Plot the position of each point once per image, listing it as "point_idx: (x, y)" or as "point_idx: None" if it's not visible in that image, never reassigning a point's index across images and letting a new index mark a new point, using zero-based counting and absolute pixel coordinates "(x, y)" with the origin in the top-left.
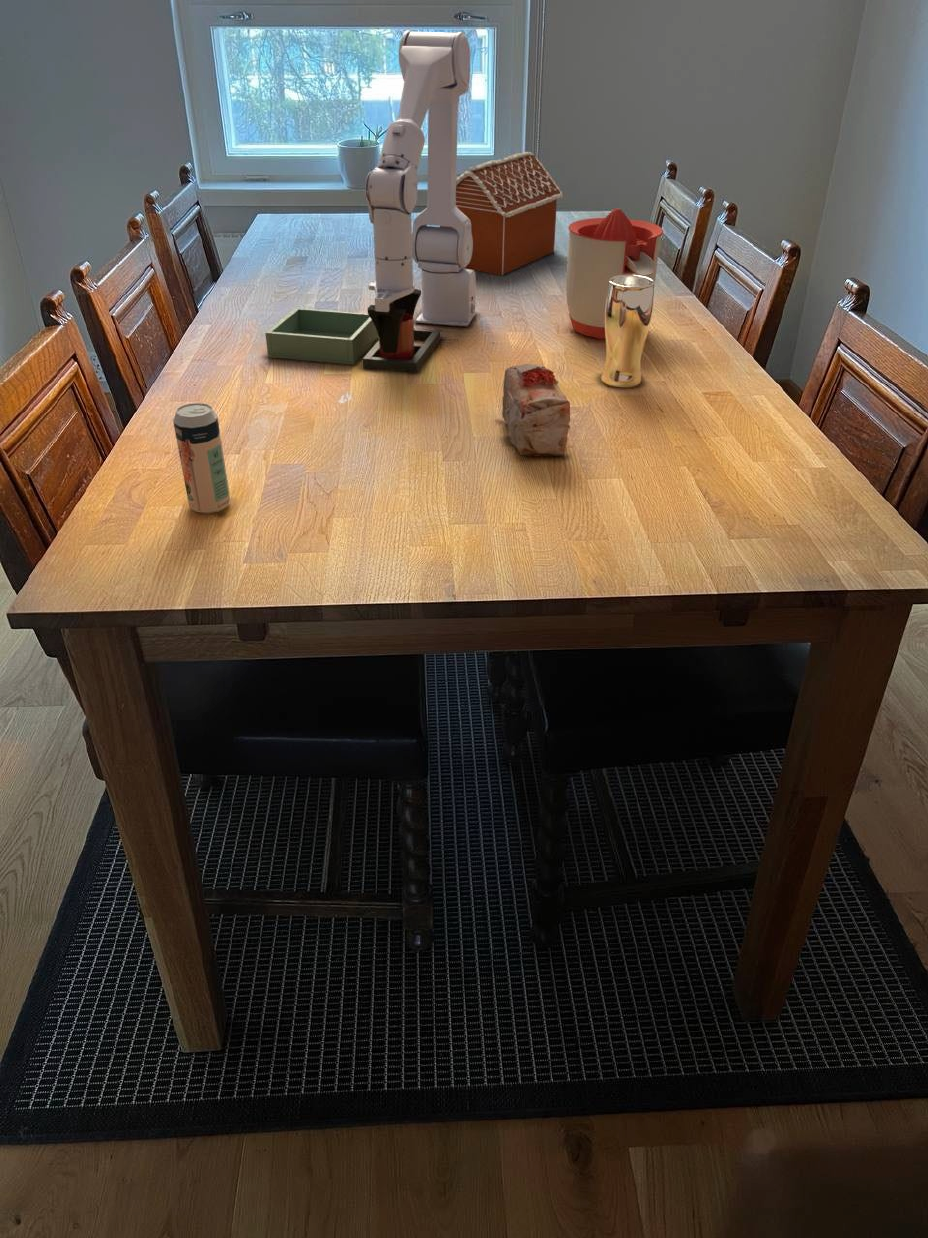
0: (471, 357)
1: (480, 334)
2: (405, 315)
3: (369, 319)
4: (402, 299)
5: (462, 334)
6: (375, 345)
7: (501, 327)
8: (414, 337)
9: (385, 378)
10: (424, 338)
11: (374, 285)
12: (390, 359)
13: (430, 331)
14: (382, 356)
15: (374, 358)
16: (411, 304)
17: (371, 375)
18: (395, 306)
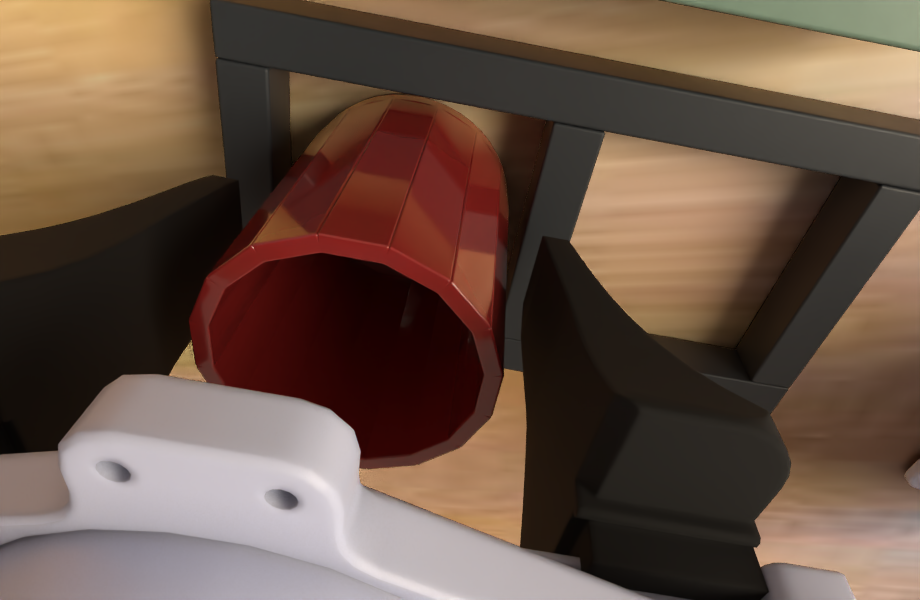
0: (485, 469)
1: (777, 505)
2: (458, 414)
3: (859, 7)
4: (552, 491)
5: (798, 454)
6: (506, 66)
7: (848, 561)
8: (786, 270)
9: (123, 153)
10: (759, 317)
11: (106, 513)
12: (249, 195)
13: (757, 373)
14: (318, 135)
15: (238, 91)
16: (527, 506)
17: (132, 66)
18: (568, 384)
